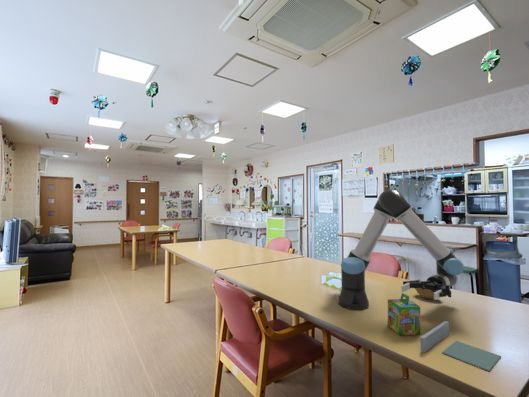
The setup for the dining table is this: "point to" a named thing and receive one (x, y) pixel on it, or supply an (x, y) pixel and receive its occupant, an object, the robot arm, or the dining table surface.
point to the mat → (472, 355)
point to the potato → (425, 293)
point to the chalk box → (404, 316)
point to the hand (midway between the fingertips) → (417, 292)
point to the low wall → (434, 336)
